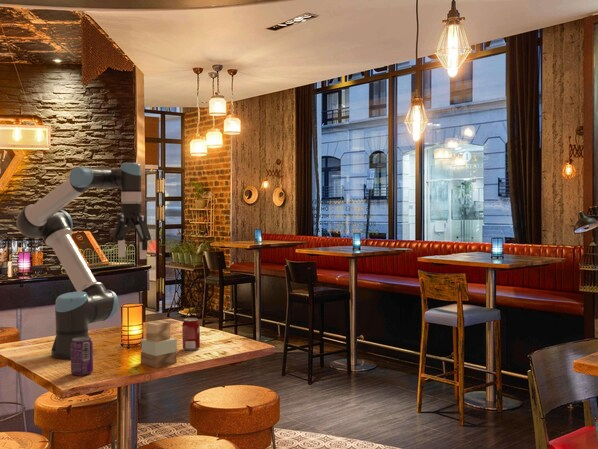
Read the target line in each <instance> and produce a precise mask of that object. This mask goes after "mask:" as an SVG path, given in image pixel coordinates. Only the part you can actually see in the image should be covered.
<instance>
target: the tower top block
mask: <svg viewBox="0 0 598 449" xmlns="http://www.w3.org/2000/svg"><path fill="white" fill-rule="evenodd" d="M140 342H141V344H140V345H141V352H144V353H147V354H151V355H154V356H158V355H163V354H167V353H172V352H177V353H178V341H177V338H173V337H170V339H167V340H162V341H158V342H156V341H152V340H147V339H146V338H142V339H141V340H140Z"/></svg>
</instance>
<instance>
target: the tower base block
mask: <svg viewBox="0 0 598 449" xmlns="http://www.w3.org/2000/svg"><path fill="white" fill-rule="evenodd" d="M177 353H178V351H177V352H172V353H167V354H163V355H158V356H154V355H151V354H147V353H144V352H142V351H140V364H141V365H145V366H148V367H153V368H156V369H157V368H161V367H165V366H169V365H172V364H173V365H174V364H176V363H178V362H177V361H178V360H177Z"/></svg>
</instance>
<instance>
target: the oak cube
mask: <svg viewBox="0 0 598 449" xmlns="http://www.w3.org/2000/svg"><path fill="white" fill-rule="evenodd" d="M145 325H146V327H145V328H146V331H145V332H146V334H145V336H146V338H145V339H147V340H152V341H156V342H158V341H162V340H167V339H170V338H171V322H169V321H164V320H155V321H154V320H153V321H150V322H146V323H145Z"/></svg>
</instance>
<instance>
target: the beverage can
mask: <svg viewBox="0 0 598 449" xmlns="http://www.w3.org/2000/svg"><path fill="white" fill-rule="evenodd" d="M93 344H94V343H93V341H92V337H90V336H89V337H76V338H73V339H72V343H71V359H70V373H71V374H73V375H75V376H86V374H87V375H89V374H91V373H92V372H93V371H94V345H93Z"/></svg>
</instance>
